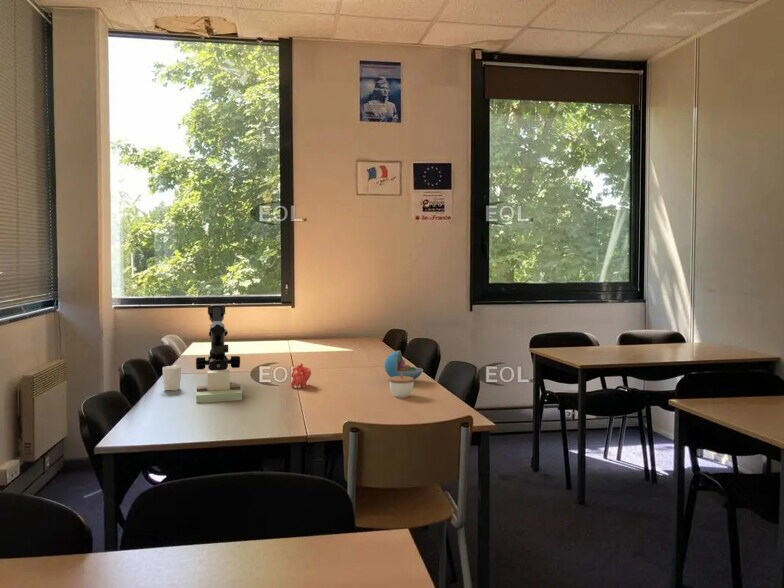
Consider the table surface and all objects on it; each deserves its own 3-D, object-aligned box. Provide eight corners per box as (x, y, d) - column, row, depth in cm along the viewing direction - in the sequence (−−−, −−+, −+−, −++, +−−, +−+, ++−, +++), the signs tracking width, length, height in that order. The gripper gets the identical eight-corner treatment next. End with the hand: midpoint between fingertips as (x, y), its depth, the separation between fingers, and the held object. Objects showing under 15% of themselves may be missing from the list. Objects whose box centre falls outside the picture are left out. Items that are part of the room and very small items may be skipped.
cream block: (207, 387, 260) (207, 370, 259) (229, 386, 262) (229, 369, 262) (207, 390, 254) (207, 373, 254) (229, 389, 257) (229, 372, 256)
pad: (196, 399, 252) (196, 392, 252) (240, 396, 257) (240, 389, 257) (196, 402, 246) (196, 395, 245) (241, 400, 251) (241, 392, 251)
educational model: (420, 385, 282) (420, 353, 281) (381, 383, 286) (381, 352, 285) (425, 379, 297) (425, 349, 297) (388, 377, 301) (388, 347, 300)
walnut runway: (197, 392, 264) (197, 385, 263) (239, 390, 269) (239, 383, 269) (196, 399, 252) (196, 392, 252) (240, 396, 257) (240, 389, 257)
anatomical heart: (307, 386, 285) (313, 363, 284) (306, 392, 273) (313, 368, 273) (288, 382, 284) (295, 358, 283) (287, 388, 272) (294, 363, 271)
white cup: (161, 391, 265) (161, 369, 264) (163, 387, 273) (163, 366, 272) (180, 390, 267) (180, 368, 267) (182, 387, 275) (181, 365, 274)
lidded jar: (385, 394, 264) (385, 373, 263) (408, 392, 268) (408, 371, 267) (394, 399, 254) (394, 377, 253) (417, 397, 258) (417, 376, 257)
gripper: (195, 339, 262) (195, 368, 252) (239, 337, 268) (241, 366, 258) (196, 354, 270) (196, 383, 260) (239, 352, 276) (240, 381, 266)
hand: (218, 378), depth 261 cm, fingers closed, pressing on cream block
